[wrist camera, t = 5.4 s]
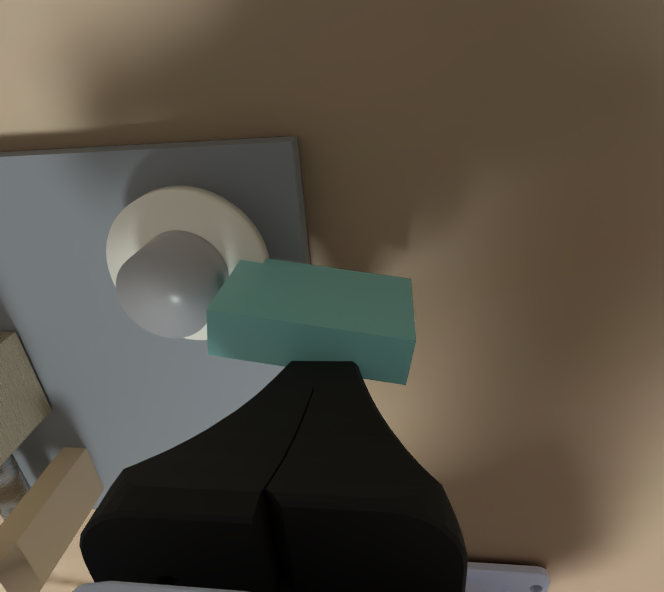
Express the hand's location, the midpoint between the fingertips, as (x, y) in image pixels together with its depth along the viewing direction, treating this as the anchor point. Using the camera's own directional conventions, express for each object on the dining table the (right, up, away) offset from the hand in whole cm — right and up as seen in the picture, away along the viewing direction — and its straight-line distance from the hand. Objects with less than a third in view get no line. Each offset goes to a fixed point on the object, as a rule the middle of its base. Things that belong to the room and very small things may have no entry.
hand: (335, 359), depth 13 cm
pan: (-2, +2, 0) cm, 3 cm away
